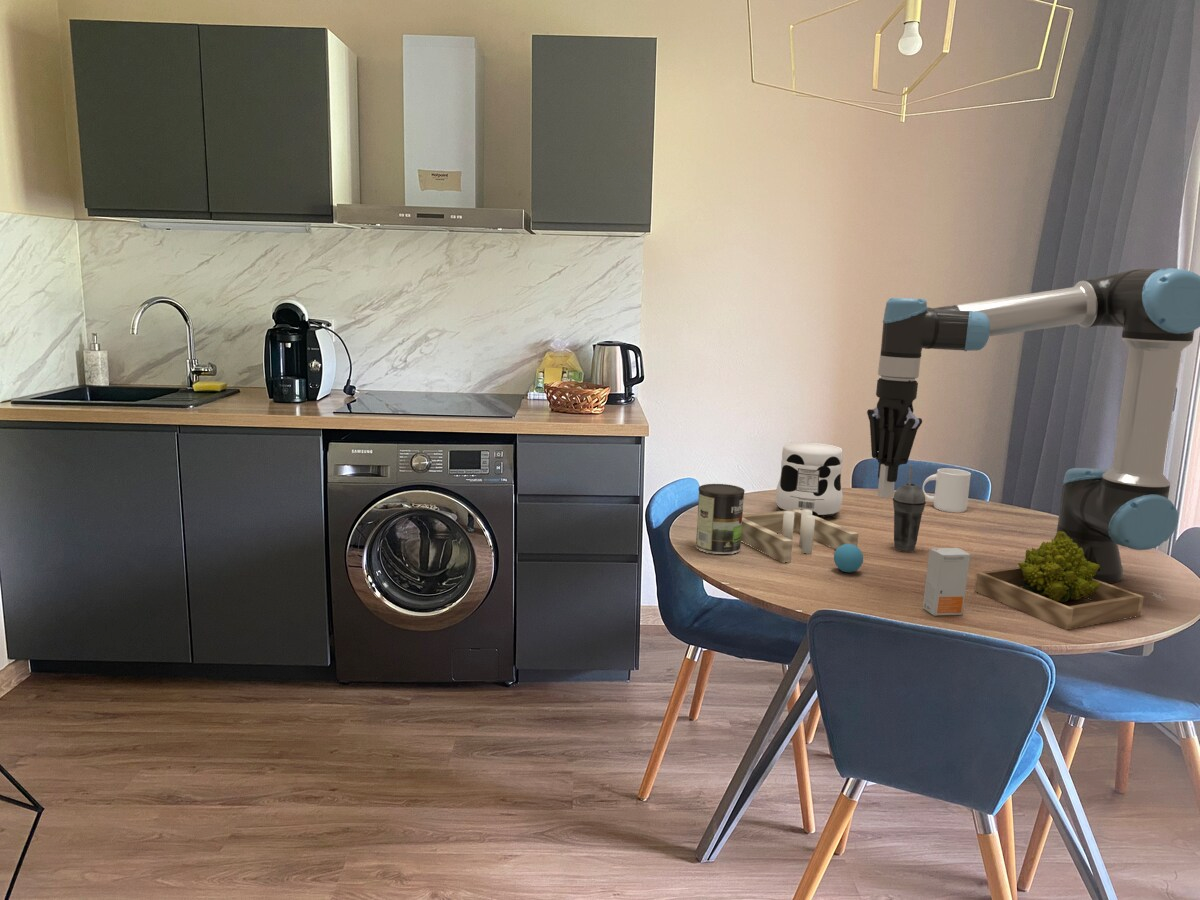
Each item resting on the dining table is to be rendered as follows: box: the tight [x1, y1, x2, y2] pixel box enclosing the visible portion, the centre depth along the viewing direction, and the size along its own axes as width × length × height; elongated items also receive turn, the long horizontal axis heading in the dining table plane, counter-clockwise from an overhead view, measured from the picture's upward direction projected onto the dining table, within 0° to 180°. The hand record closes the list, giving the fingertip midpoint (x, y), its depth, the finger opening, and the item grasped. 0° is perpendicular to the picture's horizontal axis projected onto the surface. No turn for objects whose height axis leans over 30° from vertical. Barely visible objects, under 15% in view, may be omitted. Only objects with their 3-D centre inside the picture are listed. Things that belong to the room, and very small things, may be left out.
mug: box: [922, 467, 972, 513], centre depth 243 cm, size 9×12×11 cm
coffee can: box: [695, 483, 746, 555], centre depth 198 cm, size 10×10×14 cm
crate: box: [974, 566, 1144, 630], centre depth 171 cm, size 21×20×4 cm
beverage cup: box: [892, 465, 927, 553], centre depth 202 cm, size 7×7×20 cm
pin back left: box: [781, 511, 794, 541], centre depth 201 cm, size 2×2×8 cm
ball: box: [833, 544, 864, 573], centre depth 185 cm, size 6×6×6 cm
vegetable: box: [1017, 531, 1101, 603], centre depth 172 cm, size 15×16×15 cm
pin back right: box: [798, 509, 812, 548], centre depth 203 cm, size 2×2×8 cm
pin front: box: [800, 515, 815, 555], centre depth 198 cm, size 2×2×8 cm
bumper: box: [741, 509, 859, 564], centre depth 203 cm, size 22×20×5 cm
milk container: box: [775, 441, 844, 518], centre depth 232 cm, size 17×17×18 cm
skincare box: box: [922, 547, 971, 617], centre depth 163 cm, size 6×4×12 cm
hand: (885, 496), depth 174 cm, fingers closed
